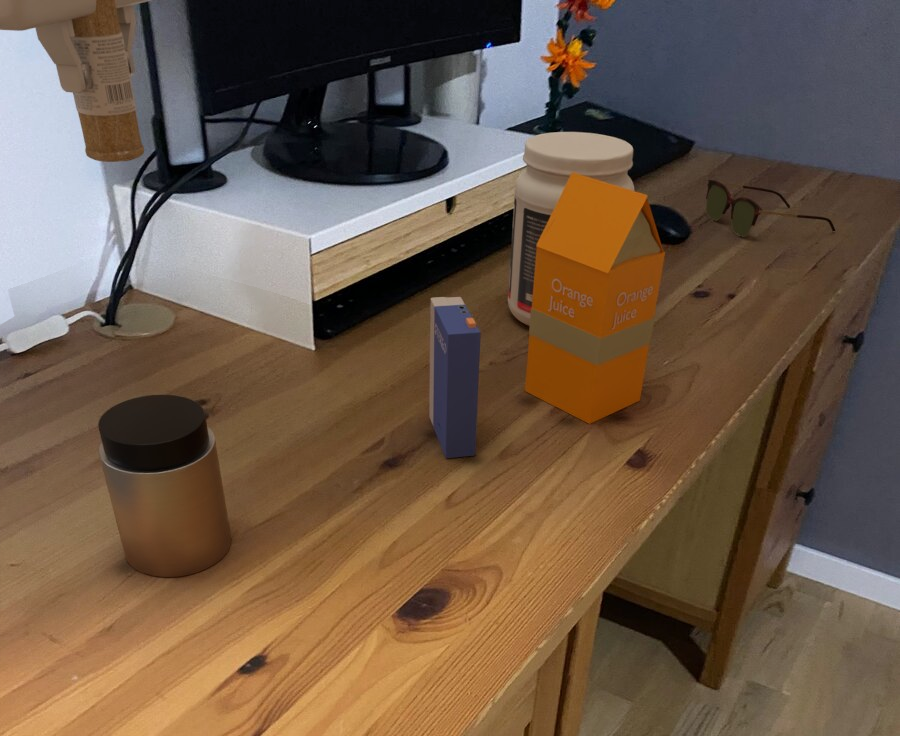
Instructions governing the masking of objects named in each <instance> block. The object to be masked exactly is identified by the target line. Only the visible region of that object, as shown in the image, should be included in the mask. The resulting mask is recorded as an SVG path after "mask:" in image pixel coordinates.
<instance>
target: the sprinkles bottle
mask: <svg viewBox="0 0 900 736" xmlns="http://www.w3.org/2000/svg"><path fill="white" fill-rule="evenodd" d="M72 24H73V29H74V33H75V37H74V38H70V39H71V41H72V43H73V45H74V48H75V50H76V52H77V54H78V56H79V58H80V60H81V62H89V66H90V71H91V75H90V77H91V78H92V81H93V86H92V88H91V89H89V90H86V91H83V92H81V93H72V95H73V101H74V104H75V109H76V112H77V115H78V119H79V123H80V127H81V131H82V134H83V135H82V136H83V141H84V146H85V149H84V152H85V155H86V157H87V158H88V159H89V158H90V159H91V160H93V161H97V162H103V163H104V162H105V163H107V162H109V163H118V162H129V161H133V160H135V159H139V157H141V156H143V155H144V153H145V146H144V145H143V143H142V138H141V135H140V134H141V133H140V127H139V121H138V117H137V112H136V109H137V106H136V101H135V100H136V99H135V95H134V90H133V84H132V78H131V76H130V72H129V67H128V62H127V56H126V51H125V45H124V40H123V35H122V32H121V30H120V25H119V21H118V15H117V9H116V5H115V0H96V11H95V12H94V13H93V14H91V15H87V16H83V17H79V18H75V19H72Z"/></svg>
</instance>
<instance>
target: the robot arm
mask: <svg viewBox="0 0 900 736" xmlns="http://www.w3.org/2000/svg"><path fill="white" fill-rule="evenodd" d="M147 2H152V0H115V5H116V9H117V15H118V21H119V25H120V30H121V32H122V35H123V40H124V45H125V51H126V56H127V62H128V67H129V72H130V77H131V76H133V75H134V74H135V73H136V68H135V63H134V56H133V51H132V50H133V45H134V39H135V33H136V25H137V19H136V12H135V8H134V6H135V5H138V4H142V3H147ZM95 11H96V0H0V31H15V32H21V31H23V32H24V31H28V30H32V29H35V32H36V36H37V40H38V42H39V43H40V44H41V46H42V48H43V49H44V50H45V52H46V53H47V55H48V56H49V58H50V60H51V61H52V62H53V64H54V65H55V67H56V71H57V76H58V80H59V84H60V87H61V89H62V91H64V92H66V93H72V94H73V93H81V92H83V91H86V90H89V89H91V88H92V86H93V81H92V78H91V77H90V75H91V71H90V66H89V62H81V60H80V58H79V56H78V54H77V52H76V50H75V48H74V45H73V43H72V41H71V39H70V38H74V37H75V33H74V29H73V24H72V19H75V18H79V17H83V16H87V15H91V14H93V13H94V12H95Z"/></svg>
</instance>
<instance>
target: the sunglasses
mask: <svg viewBox="0 0 900 736" xmlns="http://www.w3.org/2000/svg"><path fill="white" fill-rule="evenodd" d="M727 187H732V188H733V187H734V188H739V189H747V190H754V191H760V192H765V193H771V194H775V195H777V196H778V197H779V198H780V199H781V200H782V202H783V203H784V204H785V206H786V207H787V208H788V209H790V208H791V205H790V204H789V203H788V201H787V200H786V198H785V197H784V195H782V194H781V193H780V192H779V191H775V190H772V189H768V188H763V187H757V186H750V185H749V186H748V185H743V184H735V183H729V182H721V181H717V180H714V179H708V180H707V191H706V195H705V199H706V203H705V213H706V215H707V217H708V218H709V219H710V220H711V221H714V220H715V221H714V222H717V221H719V220H720V219H721V218H722V216H723V215H725V214H726V213H727V211H728V210H729V209H731V210H730V220H731V229H732V231H733V233H734V232H736V233H738V234H739V235H741V236H742V237H741V238H744V237H747V236H748V234H749V233H750V232H751V229H752V227H755V225H756V223H757V220H758V218H759V215H761V214H763V215H774V216H783V217H790V218H797V219H798V218H800V219H810V220H811V219H812V220H821V221H826V222H828V224H829V226H830V228H831V231H832V232H833V231H835V232H836V228H835V226H834V224H833V221H832V220H831V219H830V218H828V217H824V216H817V215H807V214H806V215H805V214H792V213H786V212H779V211H772V210H764V209H763V208H762V207H761V206H760V205H759V203H757V202H756V201H755V200H753V199H751V198H749V197H737V198H735V199H734V198H733V197H732V195H731V192H730V190H729V189H728V188H727ZM711 218H712V219H711ZM713 219H714V220H713ZM736 233H734V234H735V235H736V236H737V237H740V236H739V235H737V234H736Z"/></svg>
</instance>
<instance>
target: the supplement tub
mask: <svg viewBox="0 0 900 736" xmlns="http://www.w3.org/2000/svg"><path fill="white" fill-rule="evenodd" d="M523 152H524V153H523V155H522V161H523V163H525V164H526V168H525V169H524V170H523V171H522V172H521V173H520V174H519V176H518V178H517V179H516V182H515V185H514V186H515V187H514V199H513V215H512V231H511V244H510V245H511V247H510V263H509V279H508V294H507V295H508V296H507V304H508V308H509V311H510V312H511V314H512V315H513V317H514V318H515V319H516V320H518V321H519V322H521V323H522V324H524V325H526V326H528V327H530V315H531V308H532V298H533V286H534V274H535V262H536V250H537V246H536V245H537V243H538V241H539V239H540V237H541V235H542V233H543V231H544V229H545V227H546V224H547V222H548V220H549V218H550V216H551V214H552V212H553V210H554V208H555V206H556V204H557V202H558V200H559V198H560V196H561V194H562V192H563V190H564V188H565V186H566V184H567V182H568V180H569V178H570V175H571V173H572V172H573V173H577V174H580V175H583V176H586V177H590V178H593V179H596V180H599V181H603V182H606V183H609V184H613V185H616V186H619V187H622V188H626V189H629V190H632V191H635V192H636V190H635V185H634V182H633V180H632V178H631V177H630V176H629V174H628V171H630V170H631V169H632V167H633V166H634V161H633V158H634V148H633V145H631V144H630V143H629V142H627V141H626V140H624V139H621V138H619V137H615V136H610V135H605V134H599V133H593V132H583V131H557V132H546V133H540V134H536V135H533V136H531V137H529V138H528V139H527V140H526V141H525V143H524V151H523Z"/></svg>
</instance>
